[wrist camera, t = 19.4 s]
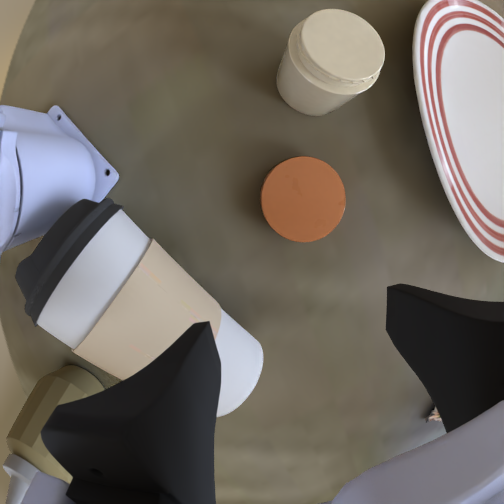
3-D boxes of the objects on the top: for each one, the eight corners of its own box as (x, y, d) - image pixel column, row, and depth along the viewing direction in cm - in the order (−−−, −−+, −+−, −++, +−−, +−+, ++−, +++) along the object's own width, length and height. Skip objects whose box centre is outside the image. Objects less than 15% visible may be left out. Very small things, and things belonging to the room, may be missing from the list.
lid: (343, 229, 20) (351, 234, 19) (269, 245, 21) (271, 251, 19) (330, 151, 19) (337, 150, 17) (252, 166, 19) (252, 165, 17)
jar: (260, 79, 17) (269, 32, 10) (310, 41, 17) (338, -10, 9) (312, 130, 19) (349, 107, 11) (359, 89, 18) (409, 57, 11)
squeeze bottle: (81, 414, 25) (25, 526, 8) (41, 360, 23) (-43, 469, 6) (131, 409, 25) (79, 552, 7) (88, 349, 23) (-9, 492, 5)
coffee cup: (200, 345, 25) (66, 237, 19) (278, 305, 21) (116, 156, 15) (176, 436, 18) (-1, 318, 12) (271, 421, 13) (11, 239, 8)
